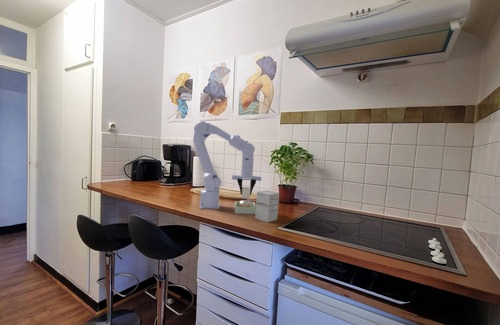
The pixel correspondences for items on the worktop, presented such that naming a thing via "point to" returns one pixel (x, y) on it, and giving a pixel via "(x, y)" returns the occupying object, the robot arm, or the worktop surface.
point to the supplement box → (267, 205)
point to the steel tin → (245, 203)
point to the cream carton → (246, 192)
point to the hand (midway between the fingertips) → (245, 194)
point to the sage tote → (245, 208)
